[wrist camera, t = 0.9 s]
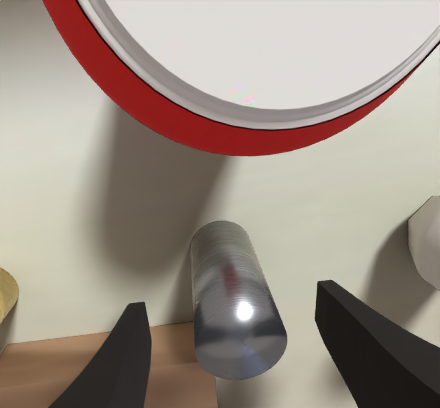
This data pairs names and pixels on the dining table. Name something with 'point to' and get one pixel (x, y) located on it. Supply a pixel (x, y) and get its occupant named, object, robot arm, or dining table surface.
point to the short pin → (7, 293)
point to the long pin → (232, 305)
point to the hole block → (85, 350)
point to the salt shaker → (426, 240)
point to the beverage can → (248, 64)
